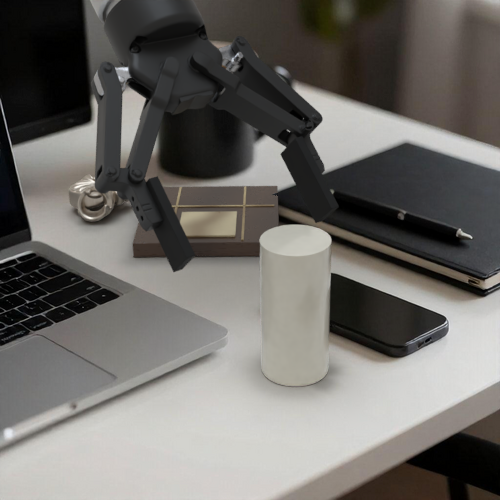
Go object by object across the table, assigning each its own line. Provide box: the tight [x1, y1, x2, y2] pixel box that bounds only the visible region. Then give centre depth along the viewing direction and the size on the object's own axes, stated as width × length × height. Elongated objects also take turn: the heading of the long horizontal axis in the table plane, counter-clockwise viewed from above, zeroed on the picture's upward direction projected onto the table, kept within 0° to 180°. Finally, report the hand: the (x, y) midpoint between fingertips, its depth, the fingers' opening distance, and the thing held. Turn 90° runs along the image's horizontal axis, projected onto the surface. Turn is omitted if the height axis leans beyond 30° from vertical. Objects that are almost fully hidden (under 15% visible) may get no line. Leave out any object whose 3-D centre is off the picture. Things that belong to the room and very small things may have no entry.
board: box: [132, 185, 280, 258], centre depth 95 cm, size 14×14×2 cm
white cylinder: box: [259, 224, 333, 387], centre depth 69 cm, size 5×5×11 cm
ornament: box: [68, 173, 129, 223], centre depth 98 cm, size 8×7×4 cm
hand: (259, 238), depth 70 cm, fingers open, 13 cm apart
